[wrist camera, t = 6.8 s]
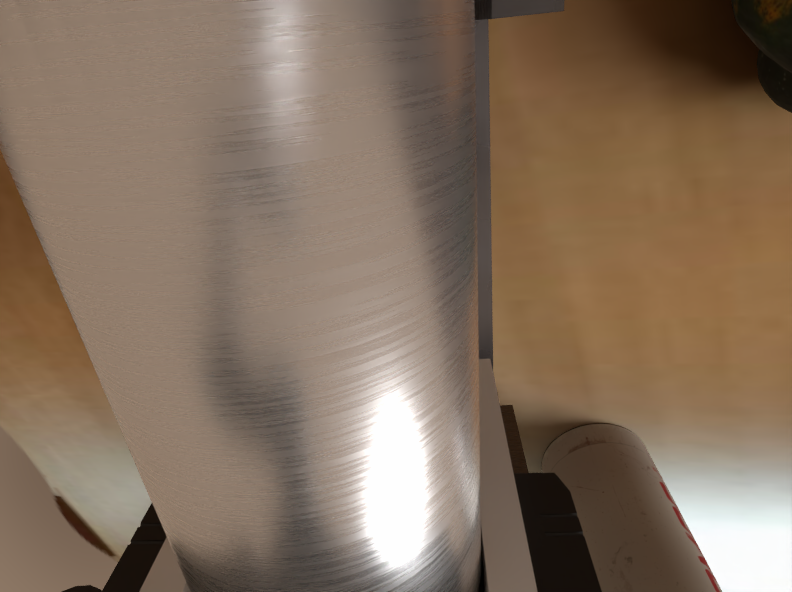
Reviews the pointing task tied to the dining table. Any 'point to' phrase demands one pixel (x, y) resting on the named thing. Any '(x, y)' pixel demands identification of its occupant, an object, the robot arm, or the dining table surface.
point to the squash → (770, 44)
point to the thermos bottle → (627, 513)
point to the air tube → (269, 270)
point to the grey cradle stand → (490, 5)
